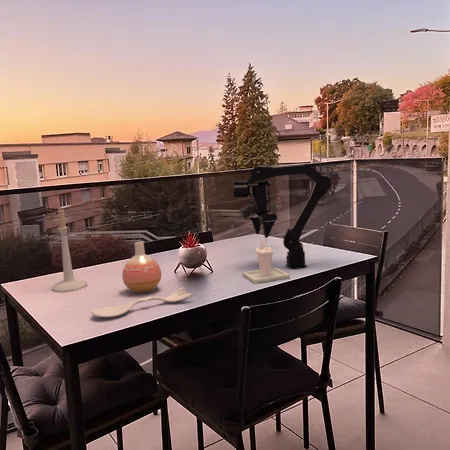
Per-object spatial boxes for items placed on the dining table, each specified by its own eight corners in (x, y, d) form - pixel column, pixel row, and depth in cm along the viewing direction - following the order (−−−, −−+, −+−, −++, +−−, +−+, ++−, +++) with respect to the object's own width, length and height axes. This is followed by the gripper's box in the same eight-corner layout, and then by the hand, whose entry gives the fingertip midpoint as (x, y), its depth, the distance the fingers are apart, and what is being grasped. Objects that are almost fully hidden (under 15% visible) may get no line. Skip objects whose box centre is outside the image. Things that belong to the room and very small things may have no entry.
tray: (275, 271, 182) (275, 267, 181) (289, 278, 170) (289, 274, 170) (242, 276, 177) (242, 272, 177) (254, 284, 166) (254, 279, 166)
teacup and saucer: (272, 251, 218) (272, 243, 217) (255, 252, 218) (255, 244, 217) (271, 248, 226) (270, 239, 226) (255, 248, 227) (254, 240, 226)
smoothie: (273, 278, 170) (271, 240, 168) (255, 278, 172) (254, 241, 169) (275, 273, 176) (273, 237, 174) (258, 273, 178) (256, 237, 176)
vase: (117, 290, 167) (113, 243, 165) (151, 283, 175) (147, 237, 172) (134, 299, 156) (129, 248, 154) (169, 290, 164) (165, 241, 161)
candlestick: (49, 286, 178) (39, 209, 174) (82, 280, 185) (74, 205, 180) (55, 294, 167) (45, 212, 163) (91, 287, 174) (82, 208, 169)
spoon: (195, 302, 150) (194, 292, 150) (96, 324, 135) (95, 313, 135) (184, 295, 158) (183, 285, 158) (89, 316, 143) (88, 305, 143)
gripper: (233, 197, 190) (235, 234, 193) (249, 201, 173) (251, 242, 175) (258, 195, 194) (259, 231, 196) (277, 198, 176) (278, 238, 179)
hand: (261, 236), depth 187 cm, fingers open, 9 cm apart
